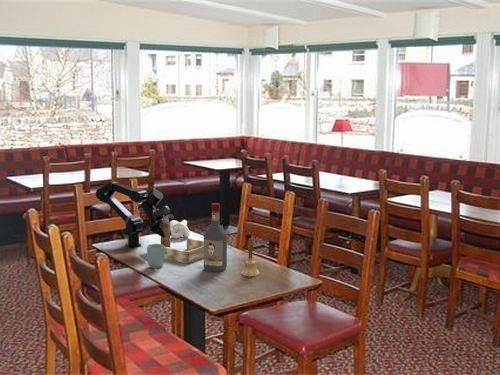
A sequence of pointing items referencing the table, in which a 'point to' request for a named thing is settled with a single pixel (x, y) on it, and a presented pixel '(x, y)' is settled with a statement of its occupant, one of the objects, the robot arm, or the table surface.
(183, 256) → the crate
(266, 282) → the table surface
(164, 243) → the pepper mill
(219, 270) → the liquor
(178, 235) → the white knot sculpture
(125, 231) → the robot arm
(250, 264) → the hand bell
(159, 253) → the cup
